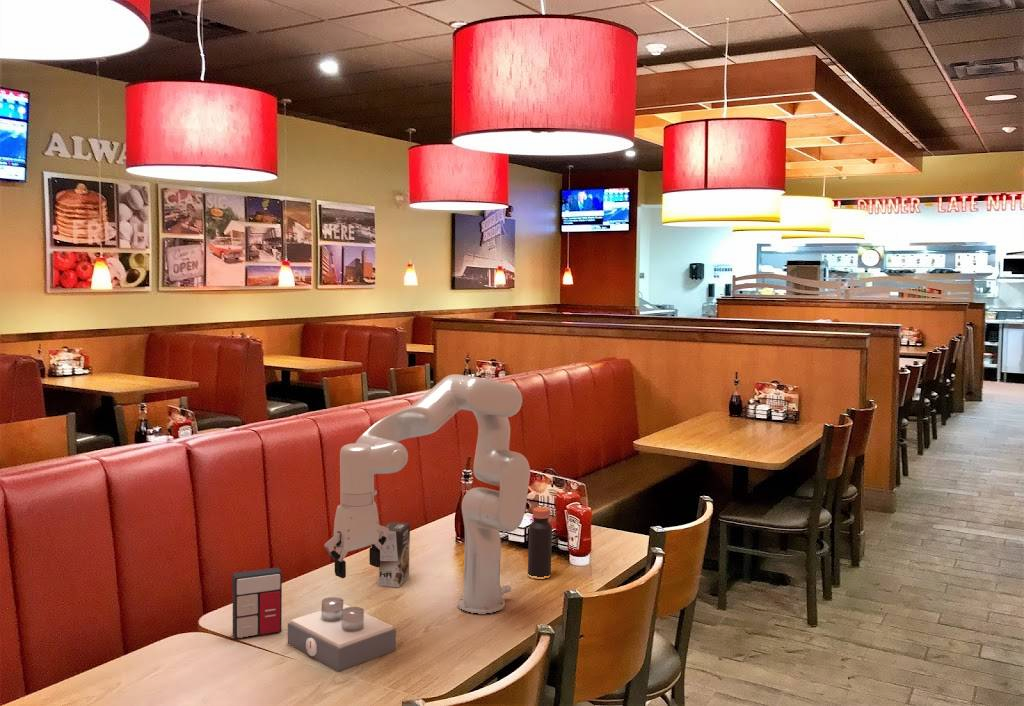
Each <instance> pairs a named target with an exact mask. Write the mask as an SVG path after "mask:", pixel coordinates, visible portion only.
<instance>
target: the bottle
mask: <svg viewBox="0 0 1024 706" xmlns="http://www.w3.org/2000/svg"><path fill="white" fill-rule="evenodd" d="M550 512H551V511H550V508H548V507H542V506H540V507H539V506H537V507H534V508H532V519H533V520H532V522H531V523H530V524H529V525H528V552H527V554H528V555H527V558H528V559H527V575H528V574H529V575H531V576H537V577H544V576H549V575H550V574H551V575H552V546H553V541H552V540H553V525H552V524H551V523H550V522H549V519H550Z"/></svg>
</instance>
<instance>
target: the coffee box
mask: <svg viewBox="0 0 1024 706" xmlns="http://www.w3.org/2000/svg"><path fill="white" fill-rule="evenodd" d="M384 527H387V528H389V532H388V534H387V537H386V541H385V542H384V544H383V548H382V550H380V567H378V586H381V587H390V588H396V587H398V588H400V587H402V585H403V584H404V583H406V581H407V580H408V579H409V578H410V549H411V548H410V546H411V540H410V539H411V523H409V522H395V521H393V522H392V521H390V522H388V523H387V524H385V525H384ZM408 577H409V578H408ZM407 578H408V579H407ZM406 579H407V580H406Z"/></svg>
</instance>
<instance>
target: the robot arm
mask: <svg viewBox="0 0 1024 706" xmlns="http://www.w3.org/2000/svg"><path fill="white" fill-rule="evenodd" d="M522 404H523V395H522V393H521V390H520V389H519V388H518V387H517V386H516V385H514V384H512V383H506V382H502V381H495V380H492V379H491V380H490V379H487V378H484V377H483V378H482V377H478V376H473V375H471V376H470V375H464V374H458V373H456V374H454V373H453V374H449V375H447V376H445V377H443V378H442V379H441V380H440V381H439V382H438V383H437V384H435V385H434V386H433V387H432V388H431V389H429V390H428V391H427V393H424V394H423V396H421V398H420V399H418V400H417V401H416V402H415V403H413V404H411V405H410V406H407V407H406V408H403V409H401V410H398V411H396V412H394V413H392V414H390V415H387V416H385V417H383V418H381V419H380V420H378V421H377V422H375V423H374V424H372V425H371V426H370V427H369V428H368V429H366V431H364V432H363V433H362V434H361V435H360V436H359V438H358V439H356V441H355V443H348V444H345V445H343V446H342V447H341V448H340V452H339V478H340V479H339V483H340V485H339V487H340V490H339V492H340V493H339V496H340V497H339V499H340V504H339V505H337V506H336V511H335V516H334V522H333V523H334V525H333V536H332V537H330V539H329V540H327V541H326V542H325V543H324V549H325V550H326V552H327V555H329V556H330V558H332V559H333V560H334V561H333V562H334V574H335V576H336V577H338V578H340V579H345V578H346V577H347V565H346V564H347V562H346V560H345V557H346V556H347V554H348V553H349V552H351V551H355V550H359V549H362V548H366V547H369V551H368V552H369V556H368V558H369V560H368V561H369V565H371V566H372V567H375V568H378V569H379V567H380V550H382V548H383V544H384V542H385V541H386V537H387V534H388V532H389V528H387V527H384V526H385V525H384V526H383V525H381V524H380V520H379V519H380V518H379V511H378V507H377V502H376V501H375V496H376V495H377V494H378V491H377V489H375V478H374V477H375V475H381V474H382V475H383V474H385V475H387V474H394V473H398V472H399V471H401V470H403V468H405V466H406V465H407V463H408V460H409V453H408V450H407V448H406V447H405V446H404V445H403V444H402V443H400V441H403V440H407V439H410V438H417V437H422V436H423V437H424V436H427V435H430V434H433V433H435V432H437V431H438V430H439V429H440V428H441V427H443V425H445V424H446V422H448V421H450V419H451V418H452V417H453V416H455V415H456V414H457V412H459V411H461V410H463V411H470V412H472V413H473V415H474V417H475V419H476V422H477V428H478V430H477V432H478V433H477V439H476V446H475V453H474V459H473V467H472V468H473V475H474V477H475V478H476V479H477V480H478V481H480V482H483V483H486V484H489V485H492V486H496V487H499V490H496V489H492V488H488V487H483V486H482V487H480V486H478V487H477V486H476V487H473V488H470V489H469V490H468V491H467V492H466V493H465V494H464V496H463V498H462V501H461V515H462V519H463V520H462V521H463V525H464V527H463V528H464V555H463V556H464V560H463V561H464V562H463V563H464V566H463V596H461V597H459V598H458V599H457V600H456V601H457V607H458V609H459V610H461V609H462V610H461V611H463V610H465V611H468V612H471V613H470V614H473V613H478V614H477V615H487V614H486V613H491V614H493V613H492V612H496V611H498V610H501V609H502V608H503V607H504V606H505V607H506V601H505V599H504V598H502V596H503V595H504V594H508V593H510V592H511V591H512V586H511V585H510V584H506V585H503V586H501V584H500V583H501V582H500V581H501V580H500V578H501V548H502V547H501V544H502V542H501V540H502V539H501V535H500V531H501V532H503V533H505V532H506V533H511V532H514V531H516V530H517V529H519V527H520V525H521V524H522V522H523V520H524V516H525V511H526V507H527V500H528V499H527V498H528V493H529V486H530V479H531V468H530V464H529V461H528V459H527V457H525V455H523V454H522V453H520V452H517V451H512V450H510V443H511V442H510V441H511V425H510V421H509V418H511V417H513V416H514V415H516V414H517V413H518V412H520V410H521V407H522ZM505 607H504V608H505ZM504 608H503V609H504ZM503 609H502V610H503ZM502 610H501V611H502ZM465 611H464V612H465ZM468 612H467V613H468ZM496 613H497V612H496Z"/></svg>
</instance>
